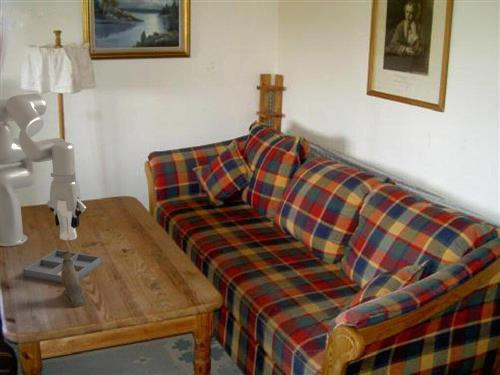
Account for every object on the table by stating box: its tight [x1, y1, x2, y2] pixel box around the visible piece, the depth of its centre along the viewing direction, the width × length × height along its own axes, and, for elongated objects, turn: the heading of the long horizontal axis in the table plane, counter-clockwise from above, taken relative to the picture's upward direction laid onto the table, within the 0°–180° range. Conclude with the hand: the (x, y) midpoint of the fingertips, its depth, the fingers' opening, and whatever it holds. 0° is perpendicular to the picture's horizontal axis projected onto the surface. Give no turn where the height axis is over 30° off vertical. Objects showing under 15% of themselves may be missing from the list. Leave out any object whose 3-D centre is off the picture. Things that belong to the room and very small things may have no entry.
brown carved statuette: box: [61, 250, 87, 308], centre depth 216 cm, size 12×6×18 cm, turn 32°
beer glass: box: [57, 200, 78, 241], centre depth 229 cm, size 7×7×15 cm
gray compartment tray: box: [23, 249, 103, 285], centre depth 239 cm, size 20×20×3 cm
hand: (67, 225), depth 230 cm, fingers closed on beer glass, 6 cm apart
